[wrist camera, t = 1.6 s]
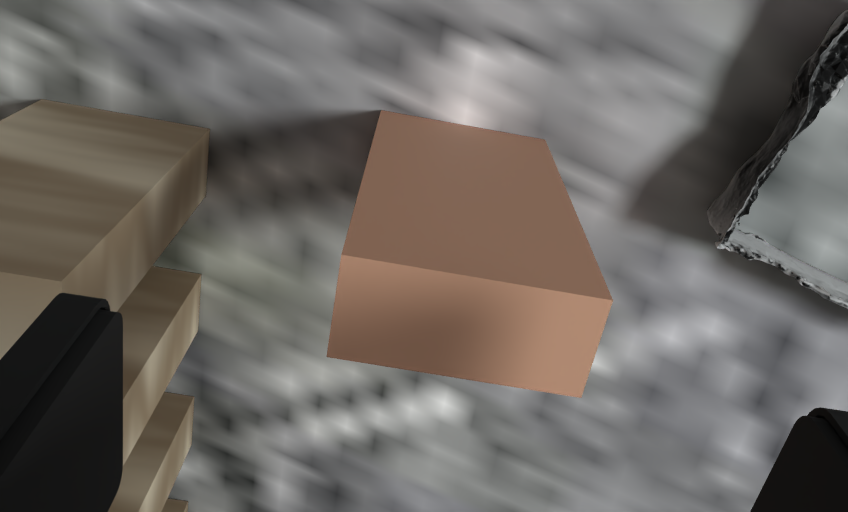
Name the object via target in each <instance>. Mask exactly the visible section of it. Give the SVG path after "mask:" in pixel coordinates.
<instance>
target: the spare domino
mask: <svg viewBox="0 0 848 512" xmlns="http://www.w3.org/2000/svg"><path fill="white" fill-rule="evenodd" d="M612 302H613V299H612V297H611V295H610V292H609V290H608V288H607V285H606V283H605V280H604V278H603V276H602V273H601V271H600V269H599V266H598V264H597V262H596V259H595V257H594V254H593V252H592V250H591V247H590V245H589V243H588V240H587V238H586V236H585V233H584V231H583V228H582V226H581V224H580V221H579V219H578V217H577V214H576V212H575V210H574V207H573V205H572V202H571V200H570V198H569V195H568V193H567V191H566V188H565V186H564V184H563V181H562V179H561V176H560V174H559V172H558V169H557V167H556V165H555V162H554V160H553V158H552V155H551V153H550V150H549V148H548V146H547V143H546V141H545V140H543V139H538V138H532V137H527V136H521V135H516V134H510V133H505V132H499V131H494V130H488V129H483V128H477V127H472V126H466V125H460V124H455V123H449V122H444V121H438V120H433V119H427V118H422V117H416V116H411V115H405V114H400V113H394V112H389V111H383V110H381V112H380V116H379V119H378V123H377V127H376V130H375V134H374V138H373V141H372V145H371V149H370V152H369V156H368V160H367V163H366V167H365V171H364V174H363V178H362V182H361V185H360V189H359V193H358V196H357V200H356V204H355V207H354V211H353V214H352V218H351V222H350V225H349V229H348V233H347V236H346V240H345V244H344V247H343V251H342V255H341V262H340V268H339V275H338V282H337V289H336V296H335V303H334V309H333V316H332V323H331V330H330V337H329V344H328V351H327V357H330V358H337V359H343V360H349V361H355V362H361V363H368V364H374V365H380V366H386V367H393V368H399V369H405V370H411V371H417V372H424V373H430V374H436V375H442V376H449V377H455V378H461V379H467V380H473V381H480V382H486V383H492V384H498V385H505V386H511V387H517V388H523V389H529V390H536V391H542V392H548V393H554V394H561V395H567V396H573V397H579V398H581V397H582V393H583V390H584V387H585V384H586V381H587V378H588V375H589V372H590V369H591V366H592V363H593V360H594V357H595V354H596V351H597V348H598V345H599V342H600V339H601V335H602V332H603V329H604V326H605V323H606V320H607V317H608V314H609V311H610V308H611V305H612Z"/></svg>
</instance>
